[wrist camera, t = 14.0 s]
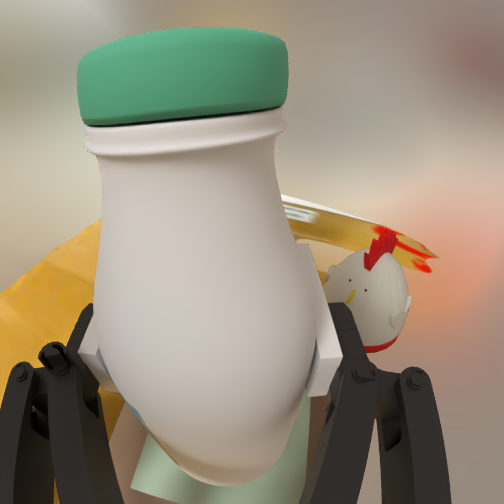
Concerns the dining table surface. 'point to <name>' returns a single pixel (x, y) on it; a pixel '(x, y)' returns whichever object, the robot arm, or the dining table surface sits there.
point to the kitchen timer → (372, 292)
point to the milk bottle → (198, 245)
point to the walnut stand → (206, 495)
